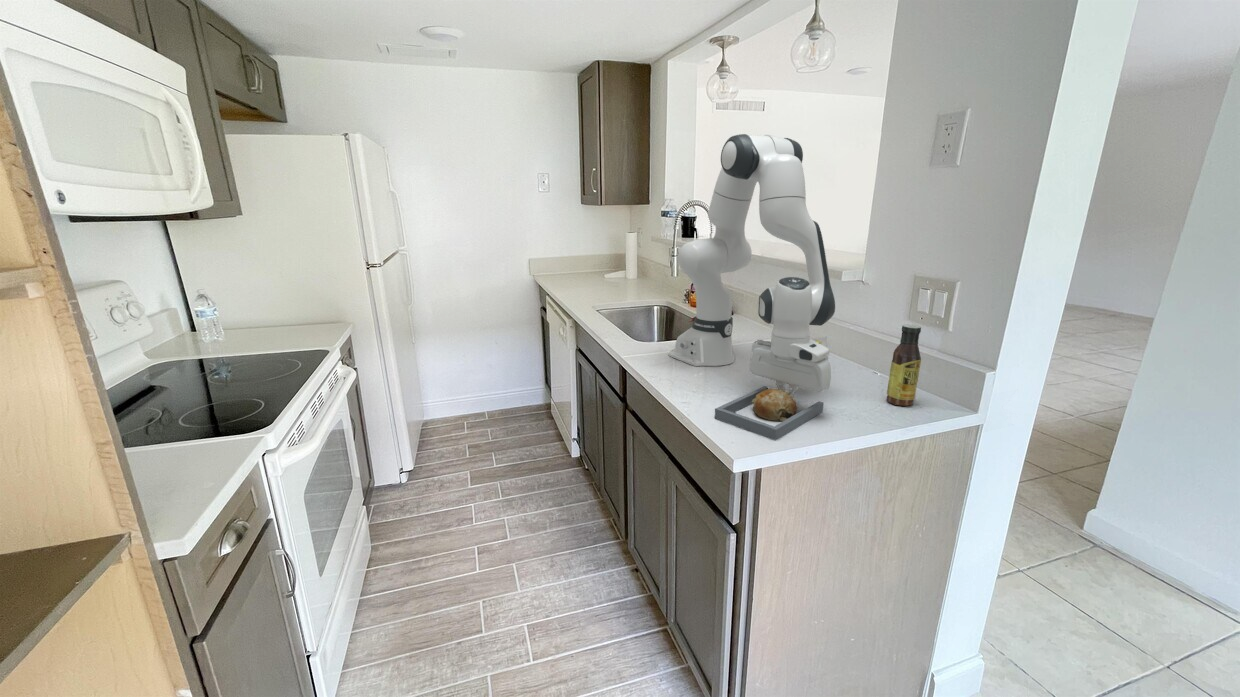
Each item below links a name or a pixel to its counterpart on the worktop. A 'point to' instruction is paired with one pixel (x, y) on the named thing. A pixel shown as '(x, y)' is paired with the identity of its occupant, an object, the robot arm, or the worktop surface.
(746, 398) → the slate bay
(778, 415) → the bread roll
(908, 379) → the sauce bottle
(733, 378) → the worktop surface
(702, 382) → the worktop surface
